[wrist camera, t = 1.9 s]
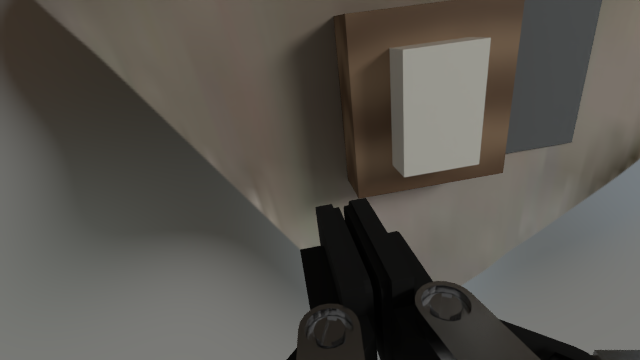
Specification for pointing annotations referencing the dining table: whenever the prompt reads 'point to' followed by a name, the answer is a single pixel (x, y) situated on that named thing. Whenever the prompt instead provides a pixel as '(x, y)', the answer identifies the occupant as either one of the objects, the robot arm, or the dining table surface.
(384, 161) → the panel
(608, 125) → the dining table surface
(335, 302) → the robot arm
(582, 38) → the mat
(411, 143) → the tile
